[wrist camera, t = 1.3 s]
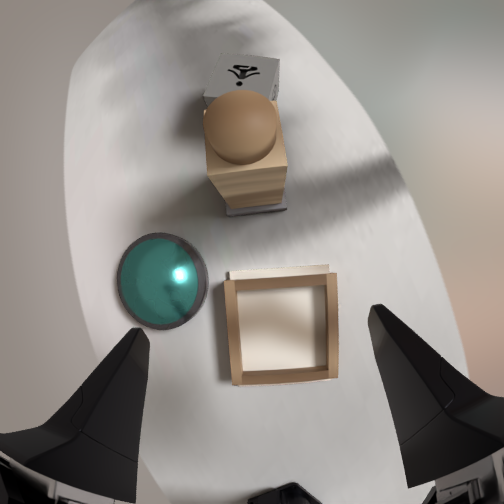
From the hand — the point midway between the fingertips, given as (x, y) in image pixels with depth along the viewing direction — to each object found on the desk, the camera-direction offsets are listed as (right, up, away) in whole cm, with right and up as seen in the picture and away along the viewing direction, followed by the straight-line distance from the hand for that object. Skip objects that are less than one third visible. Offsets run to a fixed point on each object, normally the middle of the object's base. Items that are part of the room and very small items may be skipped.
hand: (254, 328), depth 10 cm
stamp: (0, +8, +13) cm, 15 cm away
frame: (+2, -3, +12) cm, 13 cm away
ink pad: (-8, 0, +13) cm, 15 cm away
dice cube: (0, +16, +14) cm, 21 cm away
